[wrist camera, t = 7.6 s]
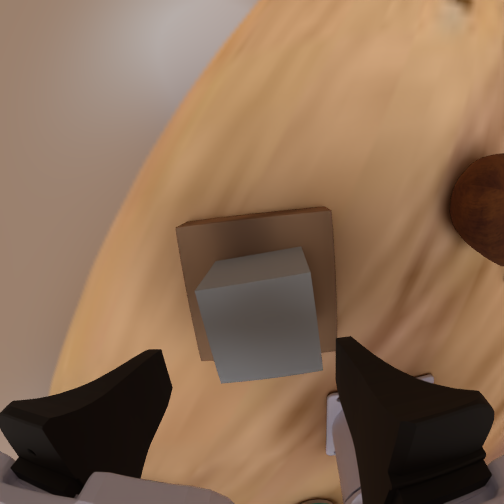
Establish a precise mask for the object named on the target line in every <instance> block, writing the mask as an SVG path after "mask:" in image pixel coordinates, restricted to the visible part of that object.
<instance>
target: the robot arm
mask: <svg viewBox="0 0 504 504" xmlns="http://www.w3.org/2000/svg"><path fill="white" fill-rule="evenodd" d="M433 383H434V377H433V376H432V375H431V374H430V375H425V376H421V377H417V378H415V377H413V376H410V375H408V374H406V373H404V372H402V371H400V370H398V369H396V368H394V367H393V366H391V365H389V364H388V363H386V362H384V361H383V360H381V359H380V358H378V357H377V356H375V355H374V354H373V353H371V352H370V351H369V350H367V349H366V348H365V347H364V346H362V345H361V344H360V343H359V342H357V341H356V340H355V339H354V338H352V337H351V336H349V337H341V338H336V384H337V390H338V393H332V394H330V395H328V397H327V428H326V454H327V455H336V459H337V465H338V471H339V478H340V484H341V490H342V497H343V503H344V504H504V455H502V456H500V457H498V458H496V459H495V460H493V461H492V462H491V463H490V464H489V465H488V466H487V465H486V463H485V461H484V460H483V459H485V457H486V453H485V451H484V449H483V448H482V446H483V444H484V442H485V440H486V438H487V436H488V434H489V432H490V429H491V427H492V424H493V421H494V410H493V408H492V407H491V405H490V404H489V403H488V401H487V400H486V399H485V398H484V396H483V395H482V394H481V393H480V392H479V391H474V390H463V389H455V388H450V387H445V386H440V385H436V384H433ZM172 388H173V387H172V384H171V381H170V378H169V374H168V371H167V368H166V364H165V361H164V357H163V354H162V350H161V349H149V350H146V351H144V352H142V353H141V354H139V355H137V356H136V357H134V358H132V359H131V360H129V361H127V362H126V363H124V364H122V365H121V366H119V367H118V368H116V369H114V370H112V371H111V372H109V373H107V374H105V375H103V376H102V377H100V378H98V379H96V380H94V381H92V382H90V383H88V384H85V385H83V386H80V387H78V388H75V389H72V390H69V391H66V392H63V393H60V394H56V395H52V396H48V397H43V398H37V399H30V400H19V401H12V402H11V403H10V404H9V405H8V406H7V407H6V408H5V409H4V410H3V411H2V412H1V413H0V429H1V431H2V432H3V434H4V436H5V437H6V439H7V440H8V442H9V443H10V445H11V446H12V447H13V449H14V450H15V452H16V453H17V455H18V456H19V458H18V459H17V460H16V461H15V460H14V459H13V458H11V457H10V456H8V455H6V454H4V453H2V452H1V451H0V504H234V503H233V502H232V501H231V500H230V499H229V498H228V497H226V496H224V495H221V494H219V493H217V492H215V491H212V490H209V489H204V488H199V487H194V486H189V485H179V484H171V483H164V482H157V481H151V480H145V479H140V478H141V474H142V470H143V466H144V463H145V459H146V456H147V452H148V449H149V447H150V444H151V442H152V440H153V438H154V435H155V433H156V431H157V429H158V427H159V424H160V422H161V420H162V418H163V416H164V413H165V411H166V409H167V406H168V403H169V400H170V396H171V392H172ZM338 397H339V399H337V398H338Z"/></svg>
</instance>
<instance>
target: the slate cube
mask: <svg viewBox="0 0 504 504" xmlns="http://www.w3.org/2000/svg"><path fill="white" fill-rule="evenodd" d="M195 294H196V298H197V302H198V306H199V309H200V313H201V317H202V320H203V324H204V327H205V331H206V334H207V338H208V341H209V345H210V348H211V352H212V355H213V358H214V362H215V365H216V368H217V371H218V375H219V378H220V381H221V383H231V382H242V381H252V380H261V379H269V378H277V377H284V376H291V375H298V374H304V373H310V372H316V371H322V370H323V366H322V357H321V348H320V339H319V331H318V323H317V316H316V308H315V301H314V293H313V286H312V279H311V273H310V270H309V267H308V264H307V261H306V258H305V256H304V253H303V250H302V247H301V246H300V247H295V248H289V249H283V250H277V251H272V252H266V253H260V254H255V255H249V256H243V257H237V258H231V259H226V260H220V261H215V263H214V264H213V266H212V267H211V269H210V270H209V271H208V273H207V274H206V276H205V277H204V278H203V280H202V281H201V283H200V284H199V286H198V287H197V288H196V290H195Z"/></svg>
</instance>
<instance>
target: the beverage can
mask: <svg viewBox="0 0 504 504" xmlns="http://www.w3.org/2000/svg"><path fill="white" fill-rule="evenodd" d="M301 504H333V503H331V502H330V501H328V500H322V499H316V500H309V501H306V502H303V503H301Z"/></svg>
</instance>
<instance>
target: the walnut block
mask: <svg viewBox="0 0 504 504" xmlns="http://www.w3.org/2000/svg"><path fill="white" fill-rule="evenodd" d="M176 234H177V241H178V247H179V253H180V259H181V264H182V270H183V275H184V281H185V286H186V291H187V297H188V302H189V307H190V312H191V317H192V321H193V326H194V331H195V335H196V340H197V345H198V349H199V353H200V358H201V361H214V358H213V355H212V352H211V348H210V345H209V341H208V338H207V334H206V331H205V327H204V324H203V320H202V317H201V313H200V309H199V306H198V302H197V298H196V294H195V290H196V288H197V287H198V286H199V284H200V283H201V281H202V280H203V278H204V277H205V276H206V274H207V273H208V271H209V270H210V269H211V267H212V266H213V264H214V263H215V261H220V260H226V259H231V258H237V257H243V256H249V255H255V254H260V253H266V252H272V251H277V250H283V249H289V248H295V247H300V246H301V247H302V250H303V253H304V256H305V258H306V261H307V264H308V267H309V270H310V273H311V279H312V286H313V293H314V301H315V308H316V316H317V323H318V331H319V339H320V348H321V353H323V352H331V351H336V338H337V302H336V275H335V255H334V239H333V225H332V212H331V210H329V209H328V208H326V207H315V208H305V209H295V210H285V211H275V212H266V213H256V214H247V215H239V216H230V217H222V218H213V219H205V220H197V221H190V222H186V223H184V224H182V225H180V226H178V227H176Z"/></svg>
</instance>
